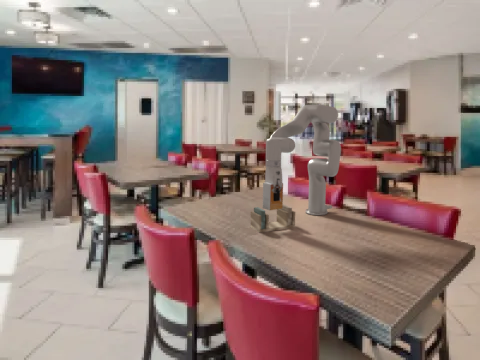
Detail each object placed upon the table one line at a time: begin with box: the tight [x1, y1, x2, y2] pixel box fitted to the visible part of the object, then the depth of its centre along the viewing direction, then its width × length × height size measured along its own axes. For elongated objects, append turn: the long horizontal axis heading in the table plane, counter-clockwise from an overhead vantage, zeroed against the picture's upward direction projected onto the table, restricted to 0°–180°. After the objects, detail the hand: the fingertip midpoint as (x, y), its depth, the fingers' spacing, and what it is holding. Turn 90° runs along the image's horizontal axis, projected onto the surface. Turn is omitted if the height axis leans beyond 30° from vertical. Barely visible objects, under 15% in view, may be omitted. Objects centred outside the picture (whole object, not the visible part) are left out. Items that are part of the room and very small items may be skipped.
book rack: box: [250, 203, 296, 233], centre depth 191 cm, size 20×10×10 cm, turn 114°
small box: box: [262, 182, 284, 211], centre depth 189 cm, size 8×6×13 cm
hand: (272, 199), depth 189 cm, fingers closed on small box, 6 cm apart
